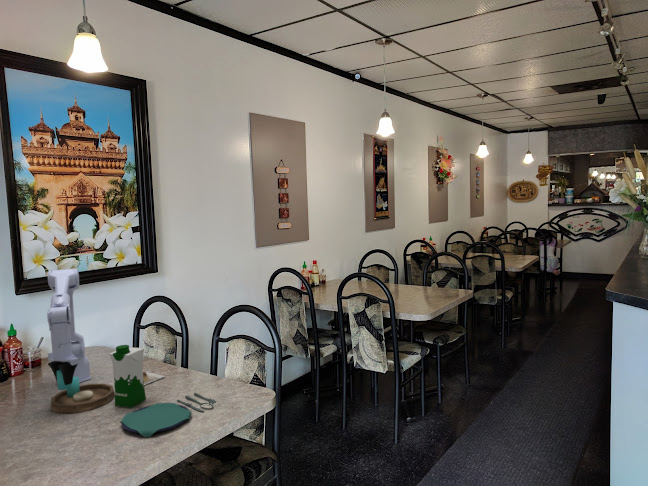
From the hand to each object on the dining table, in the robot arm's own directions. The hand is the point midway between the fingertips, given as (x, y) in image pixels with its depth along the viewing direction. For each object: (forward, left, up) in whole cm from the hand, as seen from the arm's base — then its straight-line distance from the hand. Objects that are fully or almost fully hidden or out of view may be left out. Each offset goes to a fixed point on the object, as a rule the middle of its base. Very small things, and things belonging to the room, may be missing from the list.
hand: (64, 382), depth 158 cm
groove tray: (-6, 0, -8) cm, 10 cm away
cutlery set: (-12, +37, -9) cm, 40 cm away
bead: (0, 0, -2) cm, 2 cm away
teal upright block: (-6, -6, -7) cm, 11 cm away
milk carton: (-13, +16, -9) cm, 22 cm away
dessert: (-29, +1, -9) cm, 30 cm away
